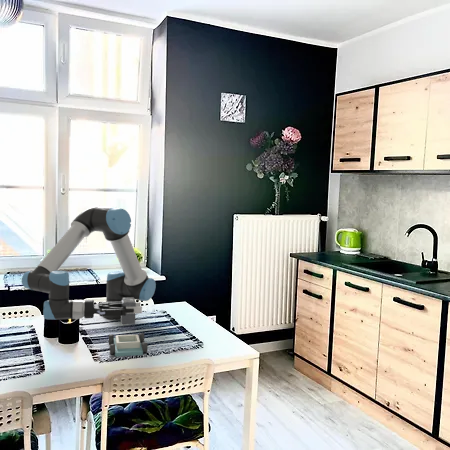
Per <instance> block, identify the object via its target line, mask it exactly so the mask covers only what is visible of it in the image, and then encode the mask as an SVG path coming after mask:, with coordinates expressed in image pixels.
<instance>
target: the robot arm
mask: <svg viewBox="0 0 450 450" xmlns="http://www.w3.org/2000/svg"><path fill="white" fill-rule="evenodd" d="M131 223H132V219H131V216H130V214H129V212H128V211H127V210H126V209H124V208H120V207H117V206H116V207H114V206H112V207H110V206H103V205H102V206H100V205H93V206H90V207H89V208H86V209H85V210H83V211H82V212H81V213H79V215H77V216H76V217H75V218H74V219H73V220H72V222H71V223H70V227H69V228H68V230H67V231H66V232H64V235H62V237H61V238H60V239H59V240H58V242H56V244H55V245H54V246H53V247H52V248H51V250H50V251H48V253H47V254H46V256H45V257H44V258H43V259H42V261H40V263H39V264H38V265H37V266H36V267H35V268H34V270H27V271H26V272H24V273H23V274H22V277H21V284H22V287H24V288H25V289H29V290H31V291H36V292H42V293H46V294H48V299H47V300H45V301H44V302H43V311H42V312H43V313H42V314H43V318H44V319H45V320H54V321H55V320H75V321H77V320H79V319H83V318H84V319H94V317H95V314H96V315H99V317H103V318H104V319H110V320H121V315H124V316H126V314H131V313H135V314H142V313H143V306H142V305H141V302H143V301H144V302H147V301H149V300H151V299H152V297H153V296H154V294H155V291H156V285H157V284H156V281H155V279H154V278H153V277H149V276H148V274H147V271H146V270H144V269H142V267H141V264H140V262H139V260H138V257H137V254H136V251H135V248H134V246H133V243H132V241H131V240H130V236H129V233H130V229H131V227H132V224H131ZM93 232H99V233H100V232H101V233H102V235H103V236H104V238H105V240H106V241H108V242H110V244H111V246H112V248H113V251H114V253H115V256H116V258H117V259H118V262H119V265H120V268H121V270H116V271H111V272H109V273H107V276H106V282H105V283H106V301H99V302H98V303H95V300H94V299H84V300H83V299H74V300H73V299H70V298H69V297H70V274H69V272H68V271H66V270H59V269H60V268H61V267H62V266H63V265H64V263H65V262H66V260H67V259H68V258H69V257H70V256H71V254H72V253H73V252H74V251H75V250H76V249H77V247H78V246H79V245H80V243H81V242H82V240H84V238H88V237H89V236H90V235H91V234H92V233H93ZM130 297H133V298H134V299H135V301H140V302H136V307H126V308H122V307H121V300H123V298H130Z"/></svg>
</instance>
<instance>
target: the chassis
mask: <svg viewBox="0 0 450 450" xmlns="http://www.w3.org/2000/svg"><path fill="white" fill-rule="evenodd" d="M108 345H109V355H114V356H115V357H129V356H143V355H144V353H148V347H149V346H148V342H145V332H139V333H138V334H120V335H119V334H118V335H115V334H113V333H112V334H108Z"/></svg>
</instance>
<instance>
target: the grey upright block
mask: <svg viewBox="0 0 450 450" xmlns="http://www.w3.org/2000/svg"><path fill="white" fill-rule="evenodd" d="M136 303H137V302H136V300H135V299H134V298H133V297H130V298H123V300H121V307H122V308H126V307H136ZM120 323H121V325H135V324H136V313H131V314H126V316H124V315H121V319H120Z"/></svg>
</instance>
